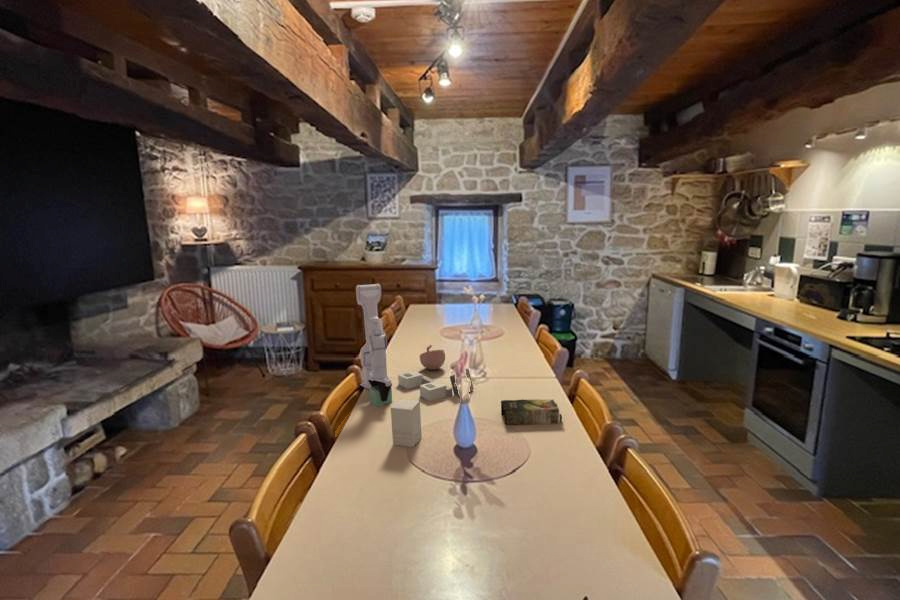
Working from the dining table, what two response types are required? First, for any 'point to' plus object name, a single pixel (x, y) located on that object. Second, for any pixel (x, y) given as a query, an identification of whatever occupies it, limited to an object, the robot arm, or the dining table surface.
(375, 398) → the block
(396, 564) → the dining table surface
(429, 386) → the rail mount
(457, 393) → the electrical switch
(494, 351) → the dining table surface
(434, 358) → the reddish brown round piece
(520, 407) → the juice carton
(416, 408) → the supplement box
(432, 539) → the dining table surface
